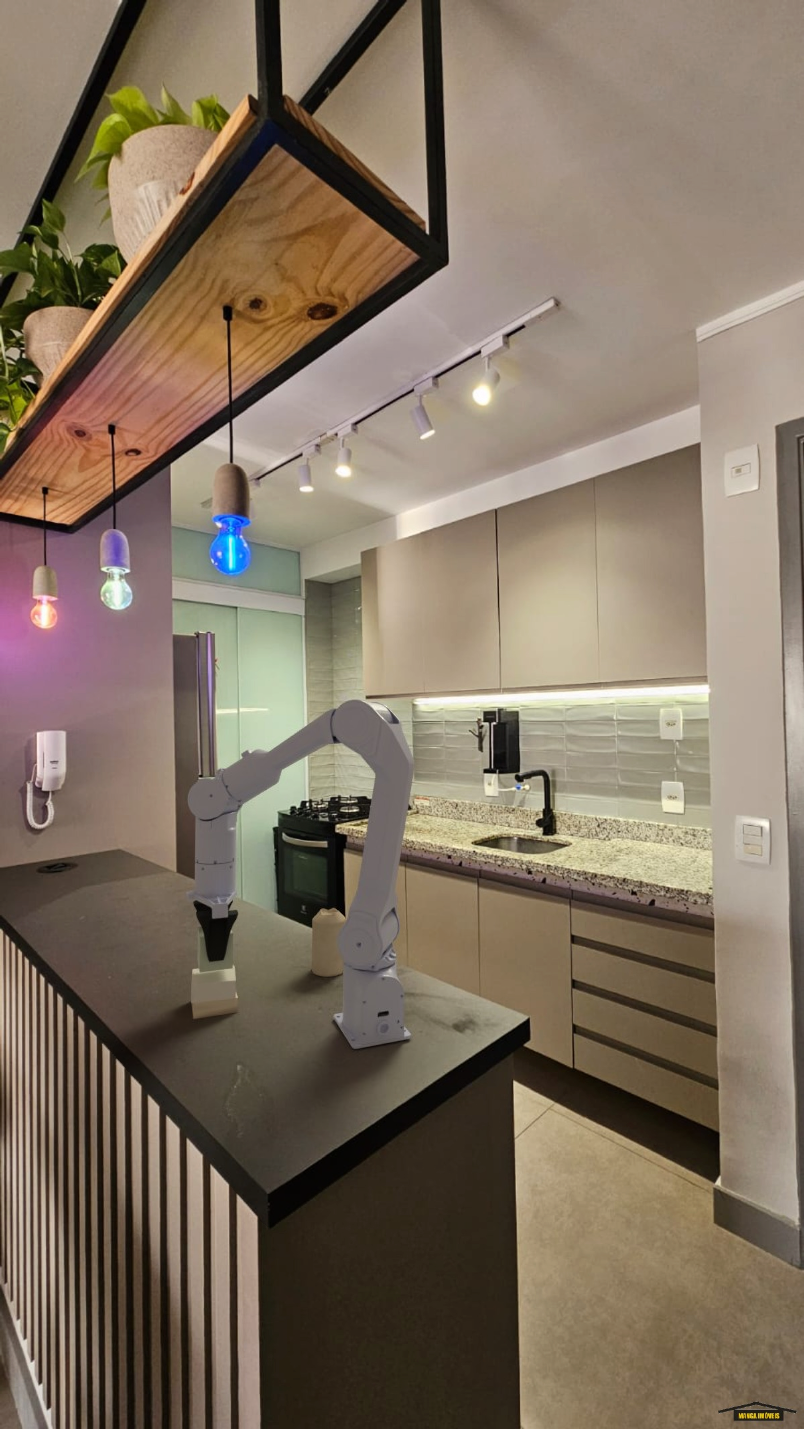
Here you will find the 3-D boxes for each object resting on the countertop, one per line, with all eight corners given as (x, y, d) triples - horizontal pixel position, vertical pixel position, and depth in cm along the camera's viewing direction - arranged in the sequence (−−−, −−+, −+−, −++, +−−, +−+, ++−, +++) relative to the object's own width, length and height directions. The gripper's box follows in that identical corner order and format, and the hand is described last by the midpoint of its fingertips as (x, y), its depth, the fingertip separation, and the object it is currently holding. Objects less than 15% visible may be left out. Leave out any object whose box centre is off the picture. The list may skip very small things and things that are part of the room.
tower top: (235, 998, 90) (235, 980, 90) (190, 1003, 88) (191, 985, 88) (234, 981, 95) (234, 965, 95) (192, 986, 94) (192, 969, 94)
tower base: (237, 1015, 90) (238, 997, 90) (193, 1022, 88) (193, 1004, 88) (233, 998, 95) (233, 981, 95) (191, 1004, 93) (191, 987, 93)
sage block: (232, 968, 90) (233, 933, 91) (199, 972, 89) (200, 936, 89) (228, 957, 95) (229, 924, 95) (197, 961, 93) (197, 927, 93)
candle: (305, 973, 104) (305, 912, 104) (324, 962, 109) (325, 903, 109) (333, 979, 101) (333, 916, 102) (351, 968, 106) (352, 908, 106)
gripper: (184, 852, 97) (182, 941, 97) (189, 873, 84) (188, 976, 84) (231, 849, 100) (230, 936, 100) (243, 869, 86) (242, 969, 86)
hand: (214, 954), depth 92 cm, fingers closed on sage block, 4 cm apart
